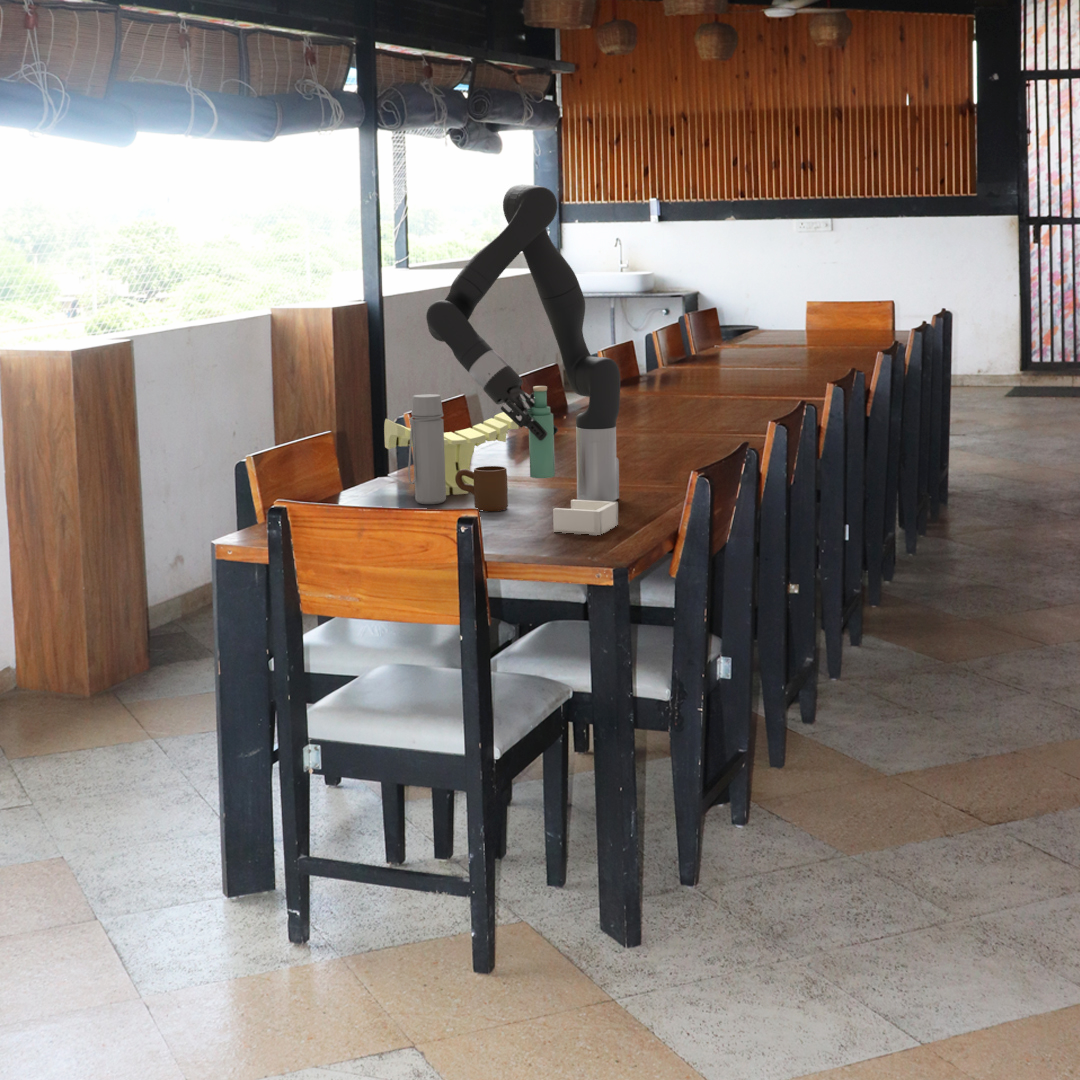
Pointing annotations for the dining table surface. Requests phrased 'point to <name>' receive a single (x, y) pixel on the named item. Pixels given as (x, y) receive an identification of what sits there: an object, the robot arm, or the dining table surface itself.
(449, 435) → the slatted curved stool
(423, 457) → the water bottle
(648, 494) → the dining table surface
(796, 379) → the dining table surface
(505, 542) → the dining table surface
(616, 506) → the holder
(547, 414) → the green bottle
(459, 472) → the mug
